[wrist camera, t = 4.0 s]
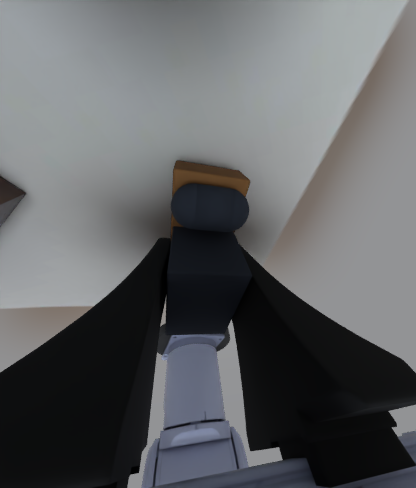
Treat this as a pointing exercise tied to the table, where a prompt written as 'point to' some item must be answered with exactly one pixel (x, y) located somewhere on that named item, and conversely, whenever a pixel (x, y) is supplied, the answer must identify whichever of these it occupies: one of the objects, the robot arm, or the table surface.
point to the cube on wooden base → (205, 249)
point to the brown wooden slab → (8, 198)
